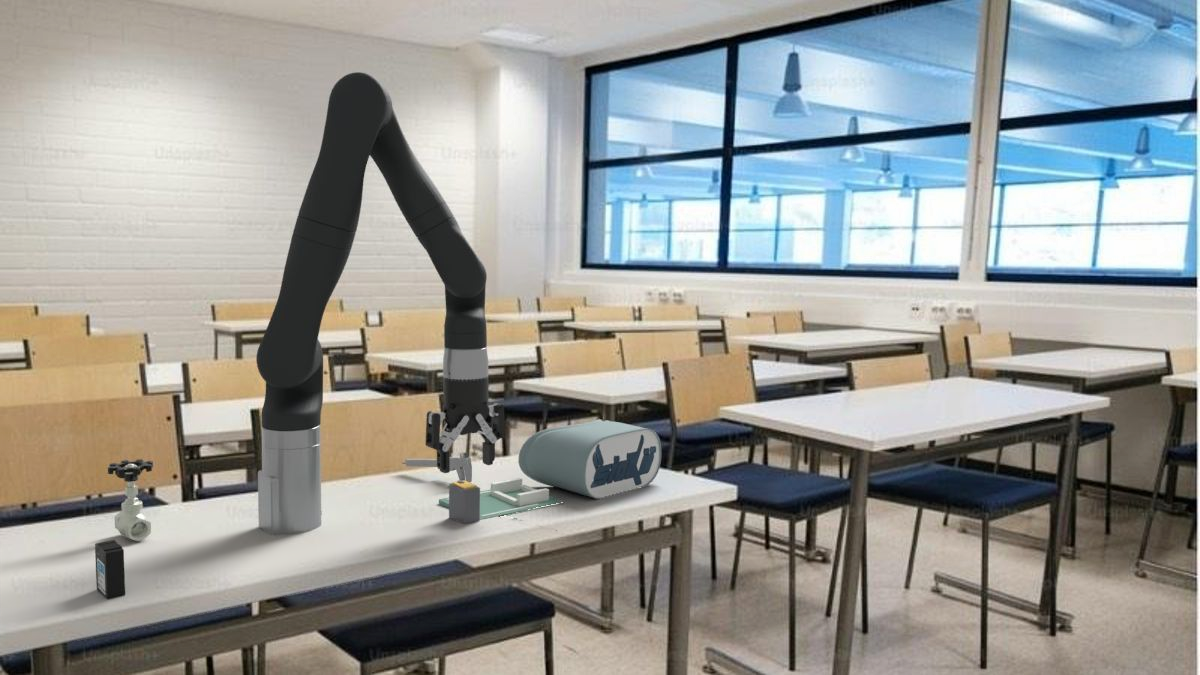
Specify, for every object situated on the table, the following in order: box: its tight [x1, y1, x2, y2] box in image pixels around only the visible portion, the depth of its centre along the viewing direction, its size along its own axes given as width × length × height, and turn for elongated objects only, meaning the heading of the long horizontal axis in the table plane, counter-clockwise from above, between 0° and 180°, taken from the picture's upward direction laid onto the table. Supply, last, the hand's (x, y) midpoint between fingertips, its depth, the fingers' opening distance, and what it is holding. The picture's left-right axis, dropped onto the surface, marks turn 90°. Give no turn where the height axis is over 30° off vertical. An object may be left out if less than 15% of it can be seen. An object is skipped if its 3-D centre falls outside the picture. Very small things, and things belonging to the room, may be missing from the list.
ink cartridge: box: [94, 539, 126, 600], centre depth 120 cm, size 5×2×8 cm, turn 43°
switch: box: [448, 479, 481, 525], centre depth 155 cm, size 3×5×8 cm, turn 40°
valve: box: [107, 458, 154, 542], centre depth 145 cm, size 7×7×12 cm
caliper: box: [401, 451, 473, 483], centre depth 185 cm, size 20×1×6 cm, turn 51°
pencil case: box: [518, 418, 662, 500], centre depth 181 cm, size 22×19×13 cm
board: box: [438, 477, 565, 521], centre depth 167 cm, size 18×14×3 cm
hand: (466, 468), depth 155 cm, fingers open, 8 cm apart
